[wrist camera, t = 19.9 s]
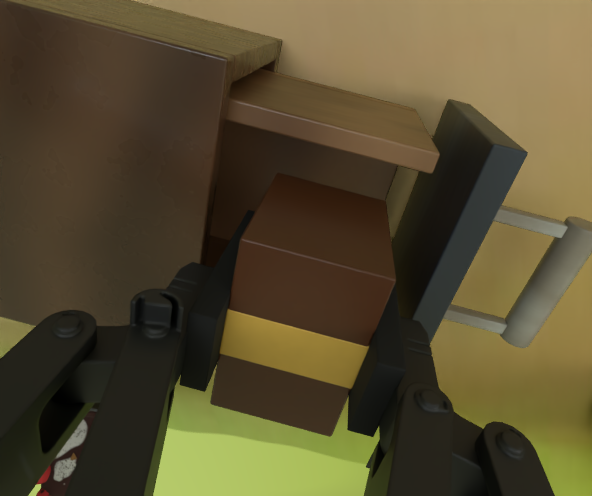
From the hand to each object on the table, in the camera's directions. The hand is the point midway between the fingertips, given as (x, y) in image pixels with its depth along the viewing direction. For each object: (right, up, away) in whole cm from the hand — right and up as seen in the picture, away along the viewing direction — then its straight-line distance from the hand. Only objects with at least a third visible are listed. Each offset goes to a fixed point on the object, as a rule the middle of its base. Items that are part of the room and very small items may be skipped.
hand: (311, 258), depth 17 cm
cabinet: (-10, +7, +8) cm, 15 cm away
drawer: (+3, +3, +7) cm, 8 cm away
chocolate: (0, 0, 0) cm, 0 cm away
